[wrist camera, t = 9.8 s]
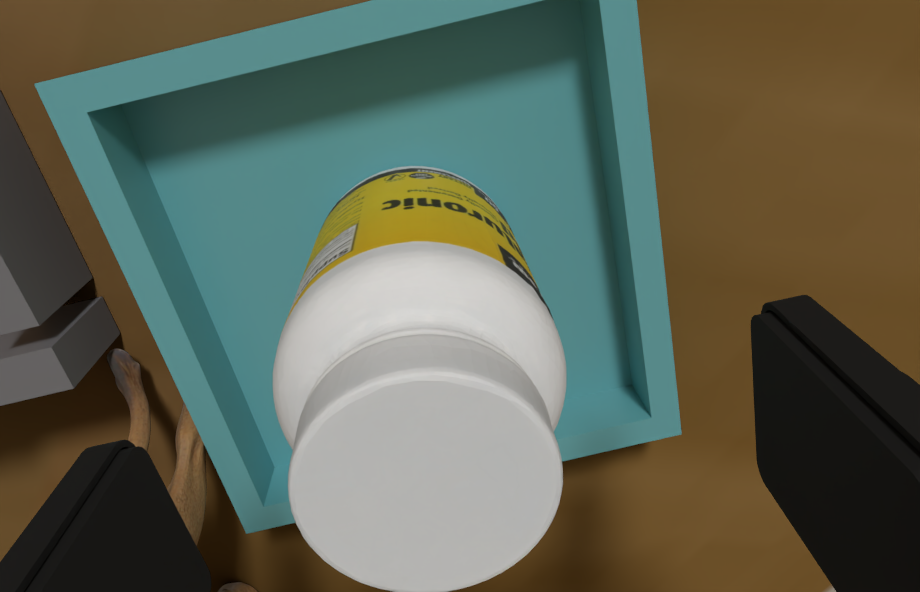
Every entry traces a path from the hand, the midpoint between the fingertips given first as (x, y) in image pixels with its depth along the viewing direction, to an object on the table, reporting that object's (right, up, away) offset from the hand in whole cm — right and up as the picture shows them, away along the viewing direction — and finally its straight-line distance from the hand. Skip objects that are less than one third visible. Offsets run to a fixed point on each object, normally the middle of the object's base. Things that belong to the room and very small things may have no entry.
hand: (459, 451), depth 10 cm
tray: (-2, +4, +9) cm, 10 cm away
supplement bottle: (-1, +3, +8) cm, 9 cm away
